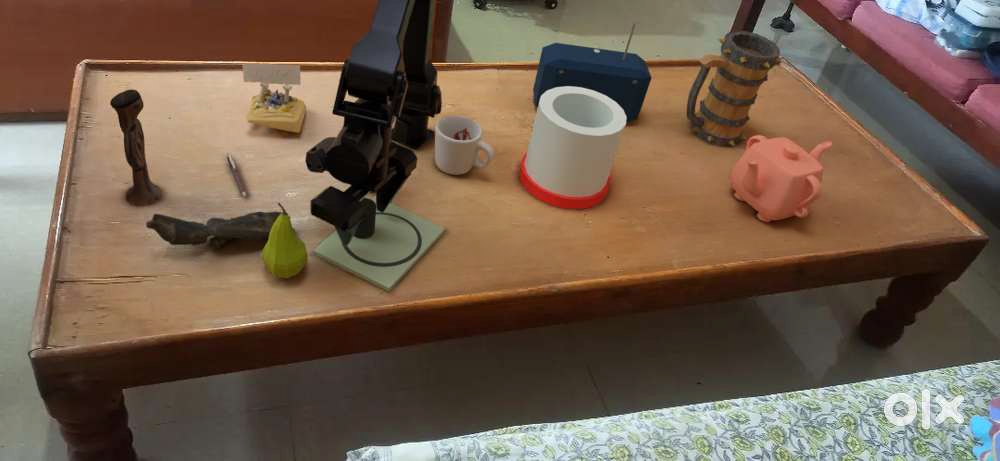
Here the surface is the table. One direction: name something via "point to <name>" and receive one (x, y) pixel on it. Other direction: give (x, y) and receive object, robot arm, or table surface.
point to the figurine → (135, 148)
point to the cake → (275, 97)
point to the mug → (731, 87)
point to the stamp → (367, 219)
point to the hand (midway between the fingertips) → (363, 226)
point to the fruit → (284, 249)
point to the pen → (236, 175)
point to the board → (383, 247)
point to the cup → (459, 145)
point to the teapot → (778, 177)
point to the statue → (213, 228)
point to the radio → (595, 74)
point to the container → (572, 147)
